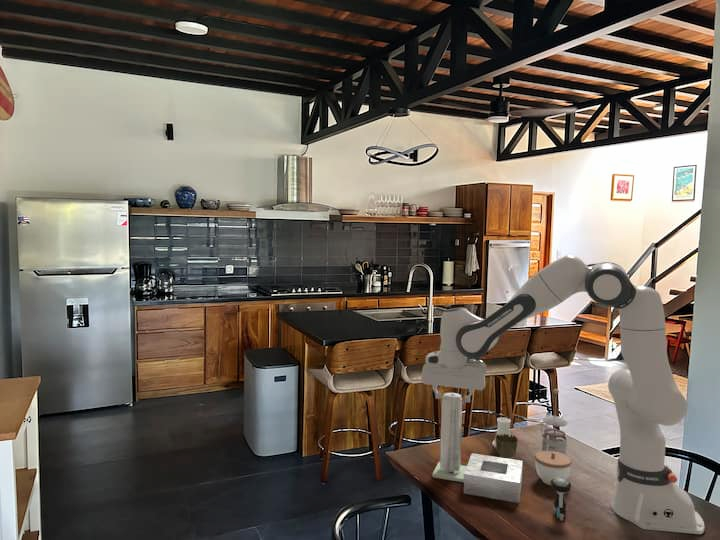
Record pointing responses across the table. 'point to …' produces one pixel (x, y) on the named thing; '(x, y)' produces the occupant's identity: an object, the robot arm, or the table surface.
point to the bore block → (493, 477)
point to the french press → (554, 433)
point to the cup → (506, 445)
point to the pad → (453, 477)
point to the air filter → (451, 433)
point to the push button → (560, 495)
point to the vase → (502, 428)
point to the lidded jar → (552, 465)
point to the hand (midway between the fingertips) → (452, 400)
